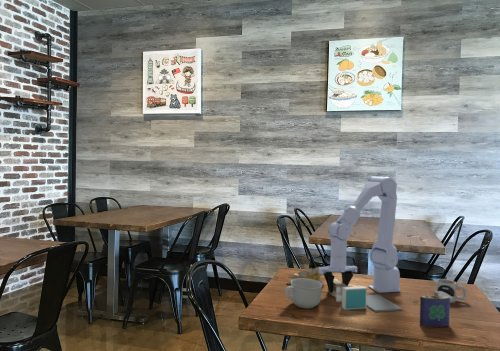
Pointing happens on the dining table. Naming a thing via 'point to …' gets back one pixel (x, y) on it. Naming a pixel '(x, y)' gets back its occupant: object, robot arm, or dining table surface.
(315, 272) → the decorative flower
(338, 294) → the pusher
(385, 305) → the mat
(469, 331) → the dining table surface
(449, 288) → the mug
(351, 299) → the tile
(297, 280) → the teacup
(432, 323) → the flask
